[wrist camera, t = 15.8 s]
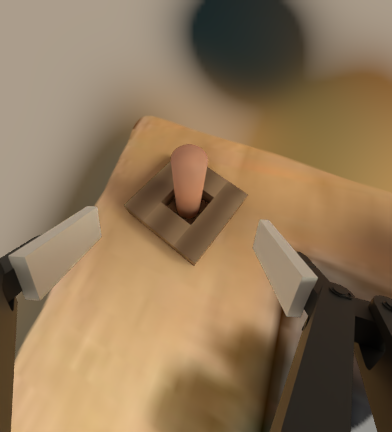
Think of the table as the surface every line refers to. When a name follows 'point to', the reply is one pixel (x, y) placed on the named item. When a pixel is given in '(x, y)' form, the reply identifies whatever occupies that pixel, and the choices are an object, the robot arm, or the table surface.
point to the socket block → (176, 226)
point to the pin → (188, 178)
